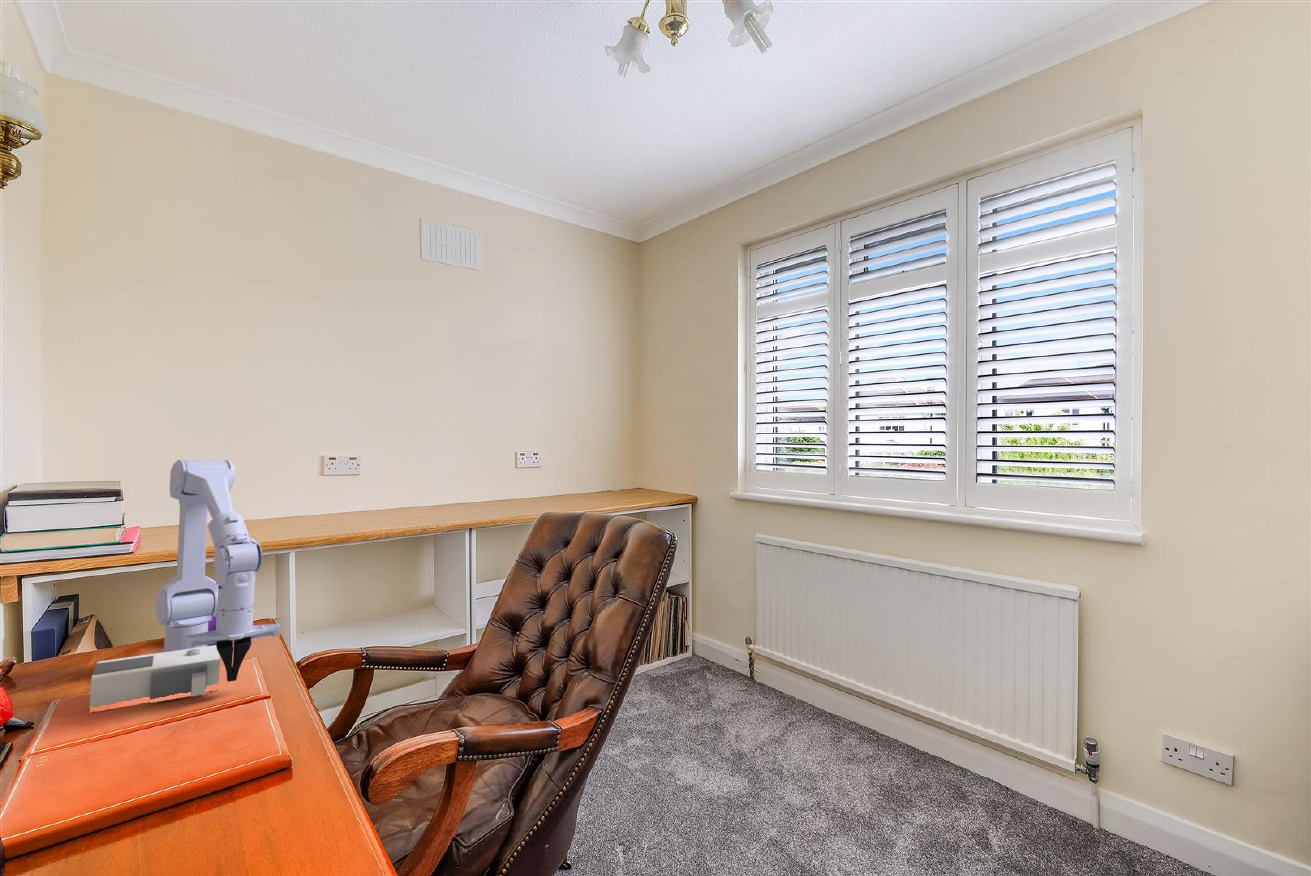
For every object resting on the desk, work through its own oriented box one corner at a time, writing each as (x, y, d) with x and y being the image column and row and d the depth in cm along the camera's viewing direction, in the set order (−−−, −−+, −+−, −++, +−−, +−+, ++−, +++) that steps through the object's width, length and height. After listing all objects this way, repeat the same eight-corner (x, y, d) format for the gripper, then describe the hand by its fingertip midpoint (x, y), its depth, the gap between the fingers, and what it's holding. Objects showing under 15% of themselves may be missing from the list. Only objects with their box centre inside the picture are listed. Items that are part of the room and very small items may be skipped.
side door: (149, 701, 107) (151, 672, 107) (205, 691, 112) (207, 663, 112) (148, 709, 103) (150, 679, 103) (206, 699, 108) (207, 670, 108)
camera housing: (95, 694, 110) (98, 658, 110) (216, 674, 121) (217, 641, 121) (88, 714, 102) (91, 675, 102) (218, 690, 113) (220, 656, 113)
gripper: (187, 617, 104) (182, 695, 104) (283, 606, 113) (279, 678, 113) (186, 608, 110) (182, 682, 109) (278, 598, 119) (275, 666, 118)
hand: (231, 679), depth 112 cm, fingers closed
